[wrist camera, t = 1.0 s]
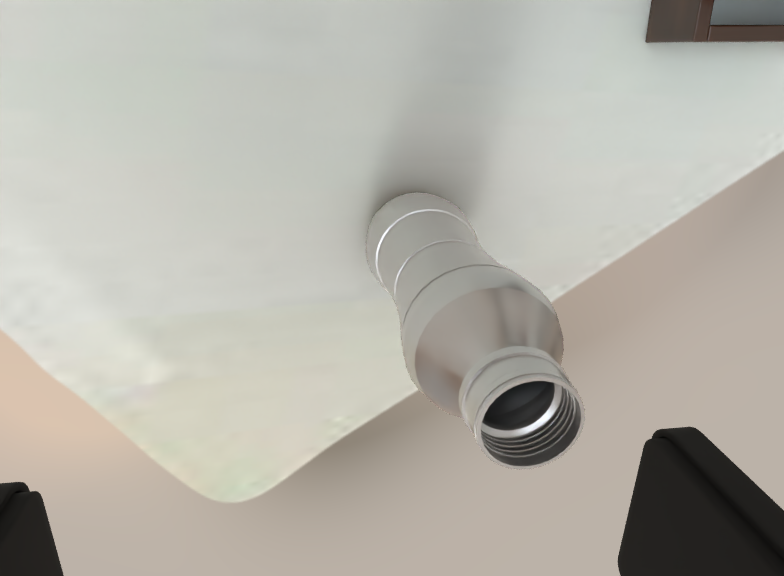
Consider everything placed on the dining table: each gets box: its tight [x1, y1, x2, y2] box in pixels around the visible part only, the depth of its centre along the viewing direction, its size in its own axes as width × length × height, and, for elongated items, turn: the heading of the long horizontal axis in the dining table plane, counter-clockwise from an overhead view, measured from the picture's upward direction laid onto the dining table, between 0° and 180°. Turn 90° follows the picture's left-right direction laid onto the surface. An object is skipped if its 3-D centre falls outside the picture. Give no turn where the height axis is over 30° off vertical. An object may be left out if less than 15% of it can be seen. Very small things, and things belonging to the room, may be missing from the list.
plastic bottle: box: [366, 193, 585, 470], centre depth 27 cm, size 6×7×20 cm
